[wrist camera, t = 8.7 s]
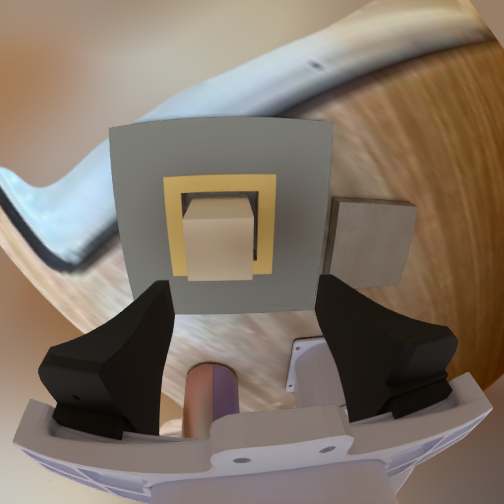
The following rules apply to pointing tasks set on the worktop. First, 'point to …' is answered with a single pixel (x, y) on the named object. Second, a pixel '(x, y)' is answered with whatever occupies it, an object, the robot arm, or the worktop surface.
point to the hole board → (217, 180)
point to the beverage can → (208, 399)
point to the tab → (369, 241)
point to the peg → (219, 237)
